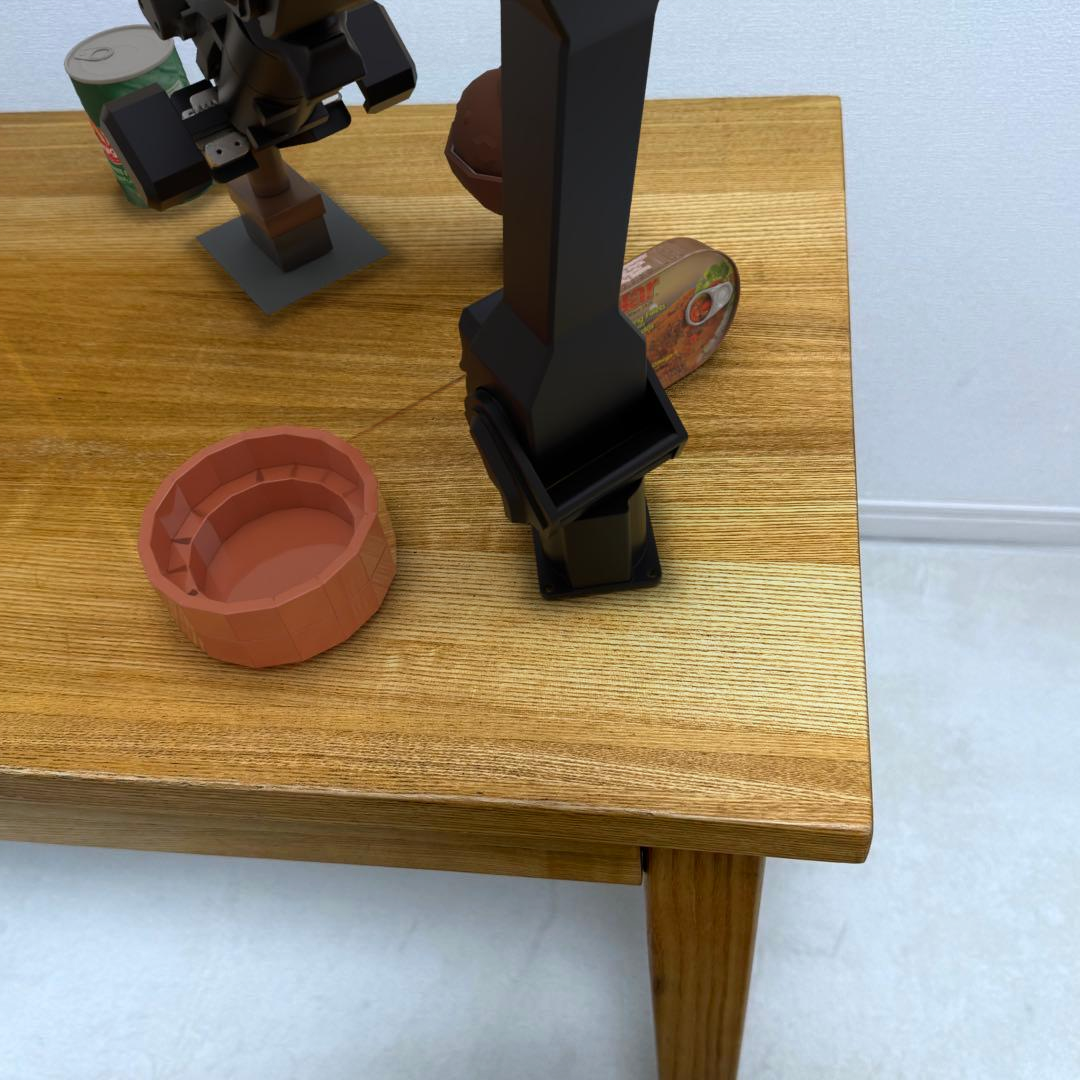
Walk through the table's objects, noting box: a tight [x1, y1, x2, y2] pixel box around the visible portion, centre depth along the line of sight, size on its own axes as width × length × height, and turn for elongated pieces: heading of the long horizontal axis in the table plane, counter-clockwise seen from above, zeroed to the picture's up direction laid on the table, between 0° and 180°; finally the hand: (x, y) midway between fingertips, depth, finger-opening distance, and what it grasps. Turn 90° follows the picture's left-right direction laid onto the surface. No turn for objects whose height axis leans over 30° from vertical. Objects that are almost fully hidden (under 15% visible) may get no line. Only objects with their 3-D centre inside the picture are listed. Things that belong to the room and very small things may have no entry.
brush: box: [212, 79, 333, 272], centre depth 72 cm, size 6×4×14 cm
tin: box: [619, 236, 742, 390], centre depth 63 cm, size 15×3×8 cm, turn 126°
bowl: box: [136, 424, 398, 669], centre depth 57 cm, size 12×12×6 cm
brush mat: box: [195, 182, 392, 316], centre depth 78 cm, size 12×10×1 cm
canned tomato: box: [63, 23, 217, 210], centre depth 81 cm, size 8×8×11 cm
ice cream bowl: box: [443, 65, 503, 217], centre depth 69 cm, size 11×11×15 cm
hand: (253, 149), depth 73 cm, fingers closed on brush, 2 cm apart
